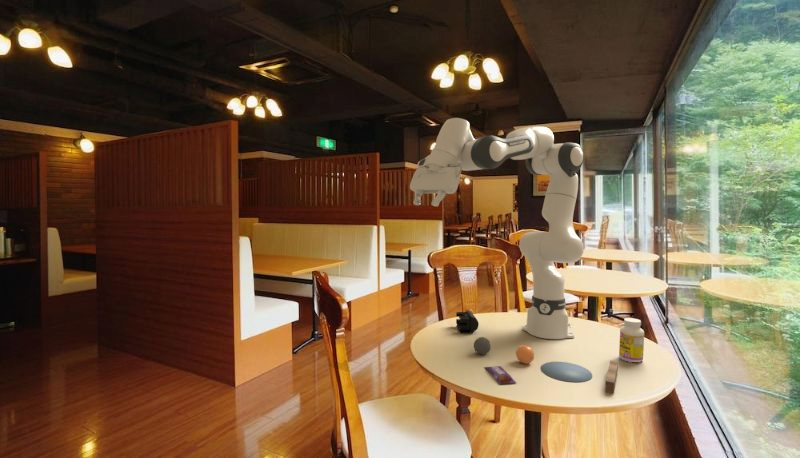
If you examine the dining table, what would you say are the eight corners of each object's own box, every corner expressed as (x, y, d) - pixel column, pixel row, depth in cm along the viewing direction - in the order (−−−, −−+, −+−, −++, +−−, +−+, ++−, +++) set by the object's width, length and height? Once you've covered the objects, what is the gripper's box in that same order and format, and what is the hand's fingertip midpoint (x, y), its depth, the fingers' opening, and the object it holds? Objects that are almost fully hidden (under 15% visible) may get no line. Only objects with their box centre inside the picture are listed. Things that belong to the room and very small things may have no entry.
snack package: (484, 363, 120) (499, 363, 120) (484, 370, 120) (499, 369, 121) (499, 380, 108) (516, 379, 109) (499, 387, 108) (516, 386, 109)
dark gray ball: (477, 349, 135) (477, 333, 134) (492, 352, 132) (493, 336, 131) (471, 354, 130) (471, 338, 130) (487, 358, 127) (487, 341, 127)
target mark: (546, 358, 127) (546, 358, 127) (594, 368, 119) (594, 367, 119) (536, 374, 115) (536, 374, 115) (589, 386, 107) (589, 385, 107)
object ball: (518, 358, 127) (518, 341, 127) (536, 361, 124) (536, 344, 124) (513, 364, 122) (513, 346, 122) (531, 368, 120) (532, 350, 119)
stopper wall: (610, 370, 118) (610, 360, 118) (617, 371, 117) (618, 361, 117) (605, 391, 104) (605, 380, 104) (613, 393, 103) (614, 382, 103)
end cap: (478, 334, 151) (478, 316, 151) (460, 334, 151) (460, 316, 150) (473, 326, 161) (473, 309, 161) (455, 326, 161) (456, 309, 160)
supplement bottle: (614, 355, 129) (615, 317, 129) (633, 355, 130) (635, 316, 129) (628, 363, 123) (629, 323, 122) (648, 363, 123) (649, 322, 122)
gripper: (470, 168, 117) (453, 210, 115) (429, 171, 134) (413, 208, 132) (456, 158, 113) (438, 201, 111) (415, 162, 131) (399, 199, 128)
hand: (424, 205), depth 122 cm, fingers open, 8 cm apart
